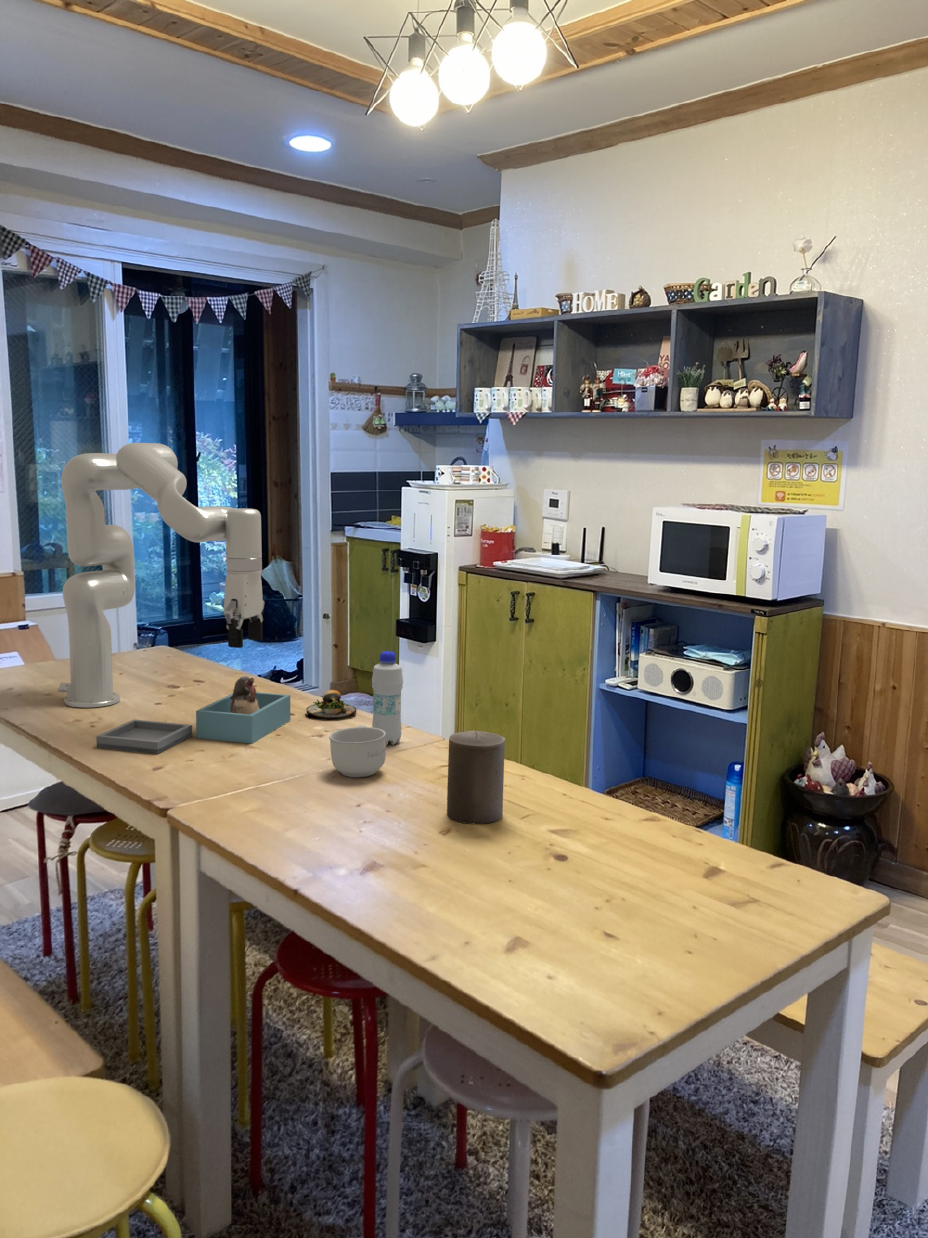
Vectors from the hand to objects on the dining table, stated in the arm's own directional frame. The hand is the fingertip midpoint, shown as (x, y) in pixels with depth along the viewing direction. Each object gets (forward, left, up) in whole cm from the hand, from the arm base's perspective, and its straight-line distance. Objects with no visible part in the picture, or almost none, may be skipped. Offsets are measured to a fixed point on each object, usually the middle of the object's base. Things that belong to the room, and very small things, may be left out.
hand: (245, 643), depth 218 cm
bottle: (+33, 0, -20) cm, 38 cm away
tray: (-15, -16, -19) cm, 29 cm away
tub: (0, 0, -19) cm, 19 cm away
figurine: (0, 0, -20) cm, 20 cm away
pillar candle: (+61, -37, -20) cm, 74 cm away
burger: (+13, +18, -20) cm, 30 cm away
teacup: (+34, -20, -20) cm, 44 cm away
